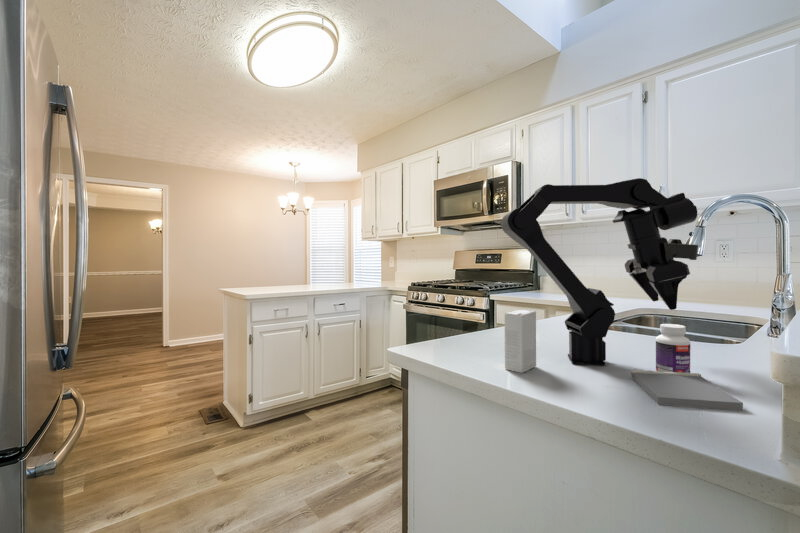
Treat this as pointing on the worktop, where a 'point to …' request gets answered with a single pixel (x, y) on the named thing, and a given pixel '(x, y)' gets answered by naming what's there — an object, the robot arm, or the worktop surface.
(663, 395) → the mat
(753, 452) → the worktop surface
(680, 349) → the pill bottle
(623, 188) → the robot arm
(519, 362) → the skincare box
